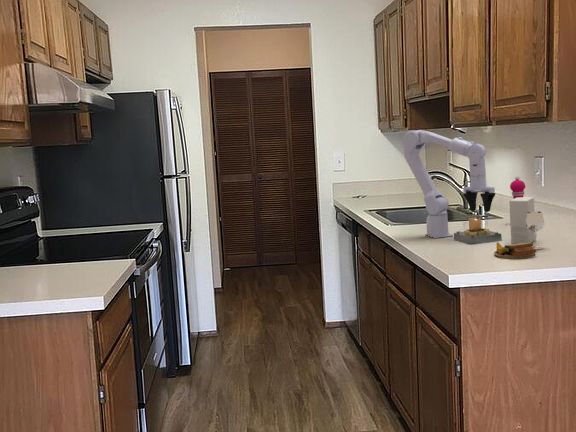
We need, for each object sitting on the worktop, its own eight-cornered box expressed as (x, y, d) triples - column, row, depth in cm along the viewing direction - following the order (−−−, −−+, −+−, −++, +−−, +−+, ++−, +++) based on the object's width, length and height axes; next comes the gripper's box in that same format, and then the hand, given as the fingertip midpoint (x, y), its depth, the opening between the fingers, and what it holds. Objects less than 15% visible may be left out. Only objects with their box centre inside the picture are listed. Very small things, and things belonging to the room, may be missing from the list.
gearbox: (450, 238, 234) (449, 229, 233) (479, 234, 236) (478, 225, 235) (471, 244, 217) (470, 234, 217) (501, 240, 219) (501, 230, 219)
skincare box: (518, 239, 217) (516, 197, 215) (537, 240, 213) (535, 196, 211) (510, 244, 211) (508, 200, 209) (529, 244, 206) (527, 199, 205)
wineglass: (540, 245, 202) (538, 210, 201) (548, 248, 197) (546, 212, 195) (523, 247, 202) (521, 212, 201) (531, 250, 197) (529, 214, 195)
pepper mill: (530, 224, 249) (527, 176, 247) (512, 225, 251) (509, 177, 249) (527, 221, 256) (524, 175, 254) (509, 222, 258) (506, 176, 256)
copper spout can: (472, 234, 222) (471, 217, 221) (467, 233, 226) (466, 216, 226) (483, 233, 222) (482, 216, 222) (478, 232, 227) (477, 214, 226)
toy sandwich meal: (529, 250, 198) (528, 236, 197) (541, 258, 184) (540, 243, 184) (490, 253, 199) (489, 239, 199) (499, 261, 186) (498, 246, 185)
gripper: (456, 176, 234) (459, 211, 235) (483, 176, 221) (485, 213, 222) (470, 175, 237) (473, 209, 238) (498, 174, 224) (500, 210, 225)
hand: (480, 211), depth 230 cm, fingers open, 7 cm apart
